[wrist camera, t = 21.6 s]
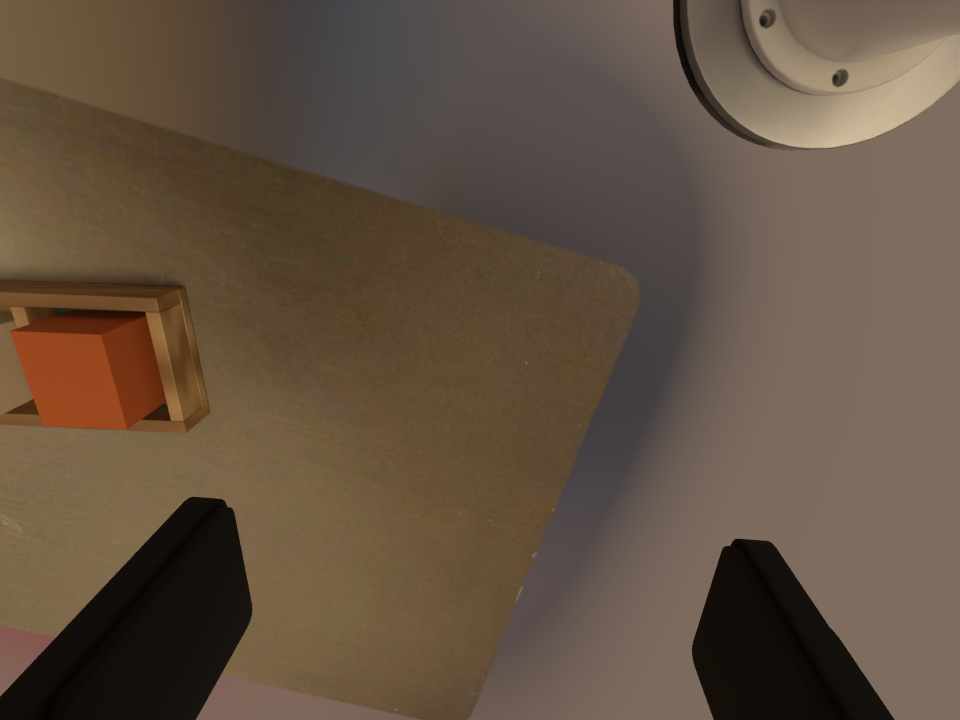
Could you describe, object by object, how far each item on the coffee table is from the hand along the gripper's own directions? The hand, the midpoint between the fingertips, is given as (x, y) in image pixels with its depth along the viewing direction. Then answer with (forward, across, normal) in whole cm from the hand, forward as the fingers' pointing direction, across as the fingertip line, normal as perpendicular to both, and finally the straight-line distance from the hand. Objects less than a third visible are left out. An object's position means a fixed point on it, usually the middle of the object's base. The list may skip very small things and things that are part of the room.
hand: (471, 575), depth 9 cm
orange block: (+26, +28, +8) cm, 39 cm away
